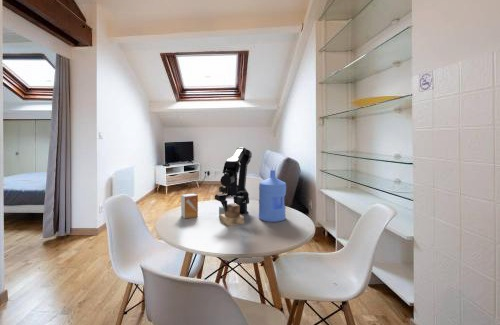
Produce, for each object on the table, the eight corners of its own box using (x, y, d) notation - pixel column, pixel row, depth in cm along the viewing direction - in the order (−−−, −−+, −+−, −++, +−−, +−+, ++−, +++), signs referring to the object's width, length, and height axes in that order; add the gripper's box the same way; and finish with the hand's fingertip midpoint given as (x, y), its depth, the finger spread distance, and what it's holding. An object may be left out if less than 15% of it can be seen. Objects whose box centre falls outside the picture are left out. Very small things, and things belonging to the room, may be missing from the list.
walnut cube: (233, 213, 145) (233, 203, 145) (239, 216, 141) (239, 205, 140) (224, 215, 142) (224, 204, 141) (230, 218, 137) (230, 207, 137)
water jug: (254, 219, 146) (254, 171, 143) (265, 212, 159) (266, 168, 157) (279, 224, 138) (280, 173, 136) (289, 216, 152) (290, 170, 149)
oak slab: (236, 218, 148) (236, 212, 148) (244, 223, 140) (244, 216, 139) (220, 221, 143) (220, 214, 143) (227, 226, 135) (227, 219, 134)
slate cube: (226, 214, 155) (226, 204, 154) (233, 216, 151) (233, 206, 151) (219, 216, 150) (219, 206, 150) (226, 219, 147) (226, 208, 146)
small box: (184, 219, 146) (184, 196, 144) (181, 216, 151) (180, 194, 150) (198, 216, 150) (197, 195, 149) (194, 214, 155) (193, 193, 154)
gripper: (238, 179, 151) (238, 205, 153) (210, 182, 141) (210, 210, 142) (249, 182, 142) (249, 209, 144) (219, 185, 132) (219, 215, 133)
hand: (232, 210), depth 141 cm, fingers open, 8 cm apart
